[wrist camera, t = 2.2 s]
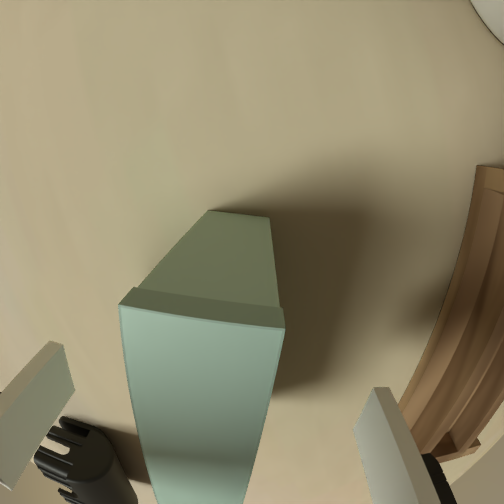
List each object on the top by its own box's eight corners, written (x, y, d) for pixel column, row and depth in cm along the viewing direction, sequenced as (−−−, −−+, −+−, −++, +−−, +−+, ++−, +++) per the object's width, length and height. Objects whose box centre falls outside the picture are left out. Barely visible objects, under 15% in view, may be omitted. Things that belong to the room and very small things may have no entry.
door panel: (197, 393, 18) (165, 525, 9) (206, 209, 15) (118, 304, 5) (243, 399, 19) (233, 535, 9) (270, 216, 15) (285, 328, 5)
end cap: (145, 483, 24) (131, 531, 17) (88, 466, 24) (68, 509, 17) (125, 431, 21) (99, 492, 14) (58, 410, 21) (26, 460, 14)
